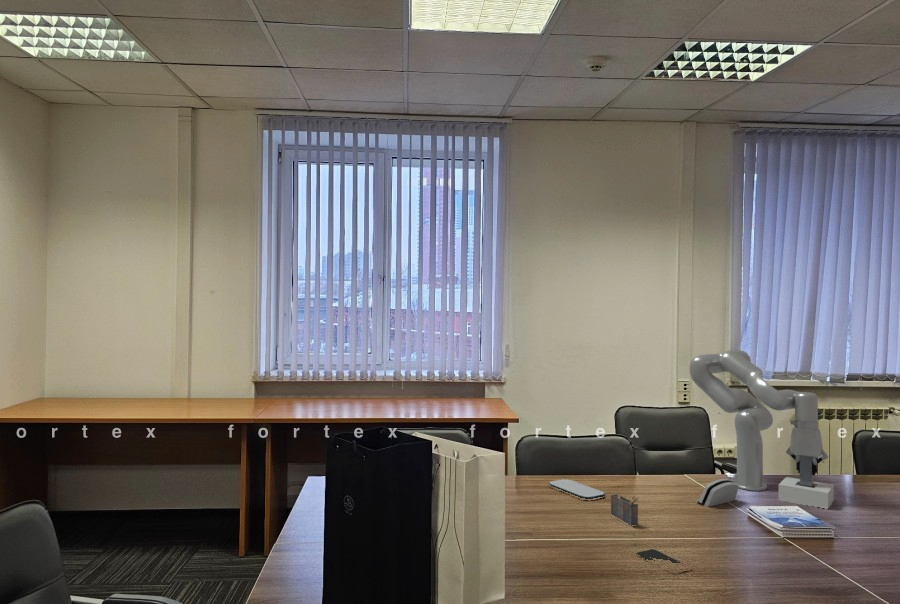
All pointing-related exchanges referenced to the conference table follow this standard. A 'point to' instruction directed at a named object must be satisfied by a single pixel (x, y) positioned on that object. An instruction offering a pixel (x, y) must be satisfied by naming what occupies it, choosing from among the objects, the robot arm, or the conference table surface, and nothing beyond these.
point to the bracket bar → (806, 471)
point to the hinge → (718, 492)
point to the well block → (806, 493)
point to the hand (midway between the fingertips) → (806, 473)
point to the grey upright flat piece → (625, 509)
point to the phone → (656, 555)
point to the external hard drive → (577, 489)
